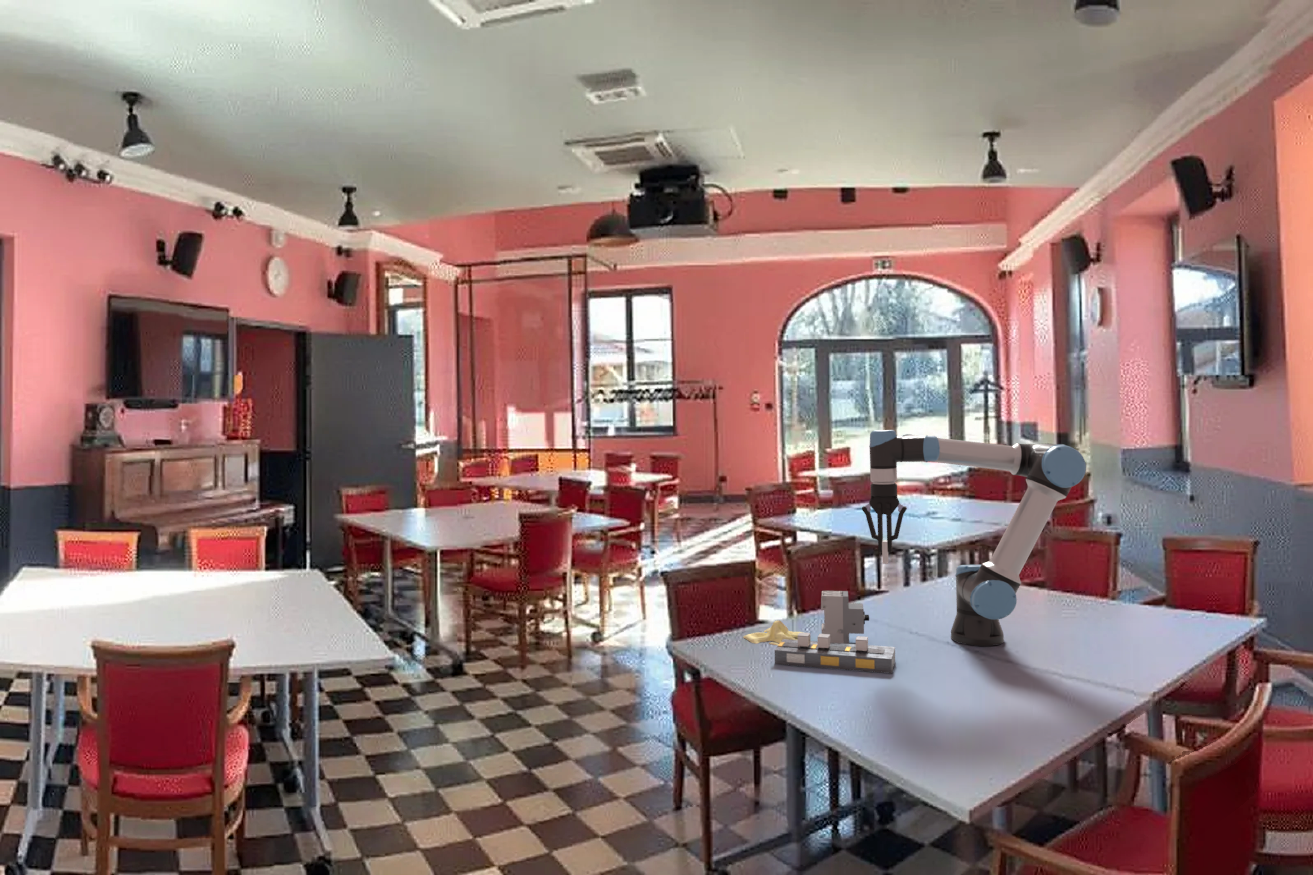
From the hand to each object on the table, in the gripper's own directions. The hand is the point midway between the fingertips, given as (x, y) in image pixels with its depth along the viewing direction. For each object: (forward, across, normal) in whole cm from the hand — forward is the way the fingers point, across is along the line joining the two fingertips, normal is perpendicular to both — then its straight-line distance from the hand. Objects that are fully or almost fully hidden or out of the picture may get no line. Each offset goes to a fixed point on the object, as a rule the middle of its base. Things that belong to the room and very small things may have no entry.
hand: (885, 562), depth 247 cm
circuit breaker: (+26, +13, -7) cm, 30 cm away
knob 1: (+22, +22, +15) cm, 34 cm away
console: (+26, +13, +15) cm, 33 cm away
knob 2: (+22, +16, +15) cm, 31 cm away
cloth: (+27, +33, -6) cm, 43 cm away
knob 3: (+22, +6, +15) cm, 27 cm away
